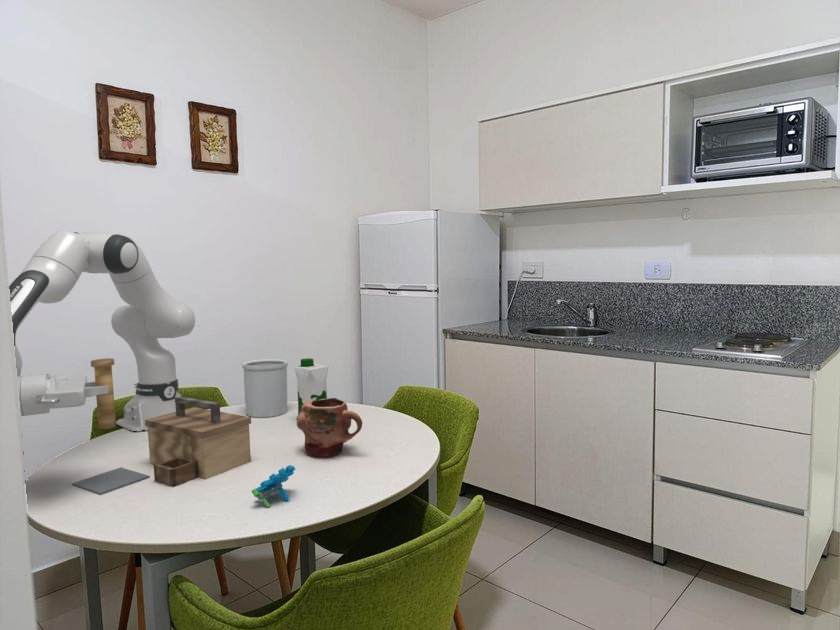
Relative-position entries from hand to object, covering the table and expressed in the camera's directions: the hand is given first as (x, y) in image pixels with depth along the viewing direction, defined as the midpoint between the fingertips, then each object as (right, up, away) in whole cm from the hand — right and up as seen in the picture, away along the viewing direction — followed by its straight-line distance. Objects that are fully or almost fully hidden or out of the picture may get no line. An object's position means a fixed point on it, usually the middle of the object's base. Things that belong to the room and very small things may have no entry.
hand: (108, 387), depth 138 cm
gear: (+42, -23, -11) cm, 49 cm away
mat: (0, -23, +2) cm, 23 cm away
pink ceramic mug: (+49, -20, +19) cm, 57 cm away
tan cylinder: (-1, -9, 0) cm, 10 cm away
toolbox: (+15, -22, +11) cm, 28 cm away
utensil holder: (+21, -17, +62) cm, 68 cm away
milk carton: (+39, -17, +50) cm, 66 cm away
